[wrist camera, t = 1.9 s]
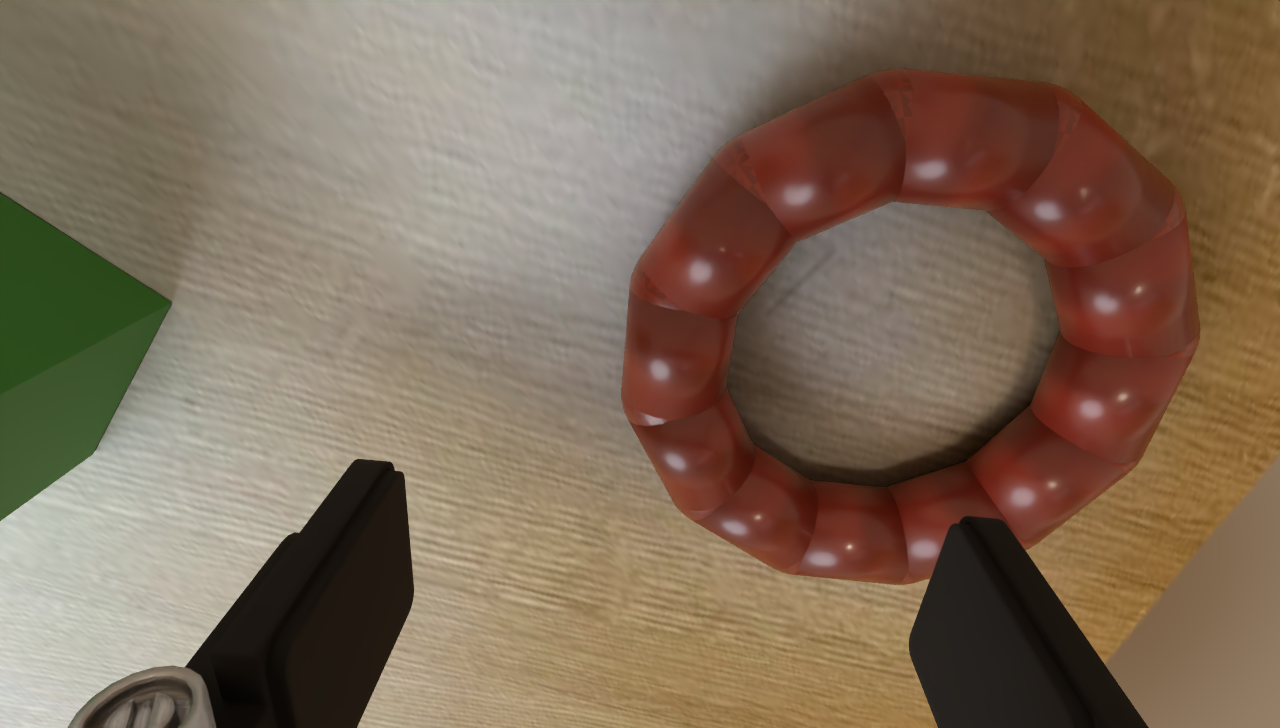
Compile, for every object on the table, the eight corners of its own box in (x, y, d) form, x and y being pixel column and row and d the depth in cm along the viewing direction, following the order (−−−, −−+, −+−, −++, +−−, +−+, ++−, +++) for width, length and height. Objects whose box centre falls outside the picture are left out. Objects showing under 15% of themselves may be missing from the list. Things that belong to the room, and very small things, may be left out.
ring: (1247, 99, 17) (1357, 112, 14) (1038, 556, 23) (1085, 624, 21) (651, 44, 17) (646, 46, 14) (612, 514, 24) (604, 577, 21)
